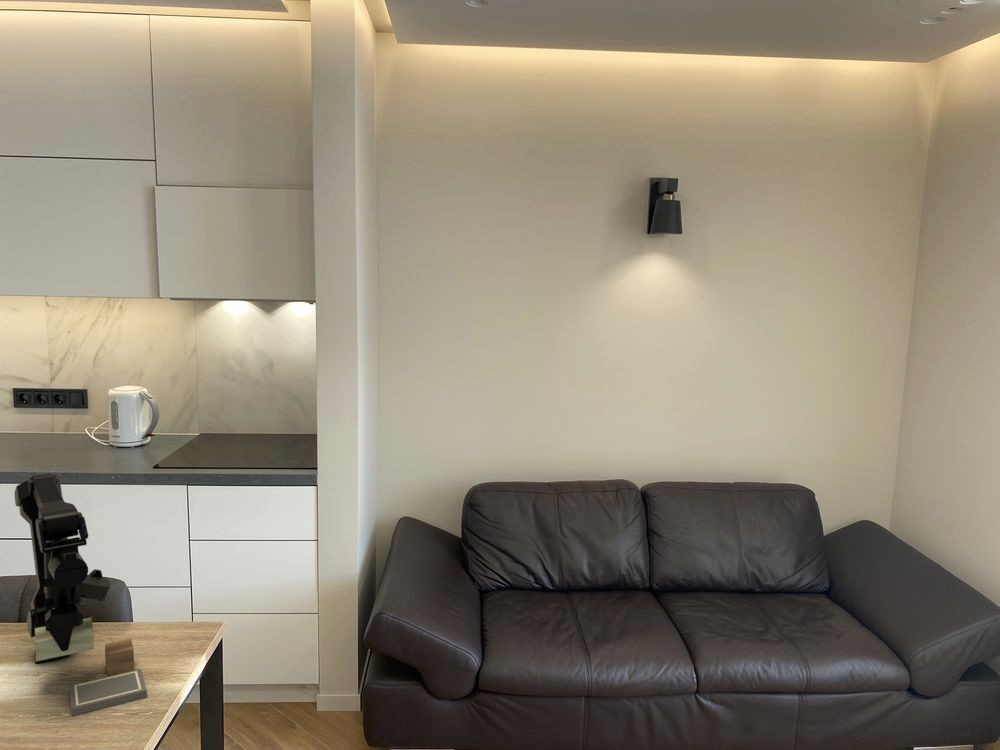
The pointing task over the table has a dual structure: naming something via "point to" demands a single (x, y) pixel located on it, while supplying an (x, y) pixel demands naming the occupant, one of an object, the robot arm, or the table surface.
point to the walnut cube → (119, 657)
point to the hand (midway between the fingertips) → (64, 643)
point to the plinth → (107, 692)
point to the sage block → (78, 643)
